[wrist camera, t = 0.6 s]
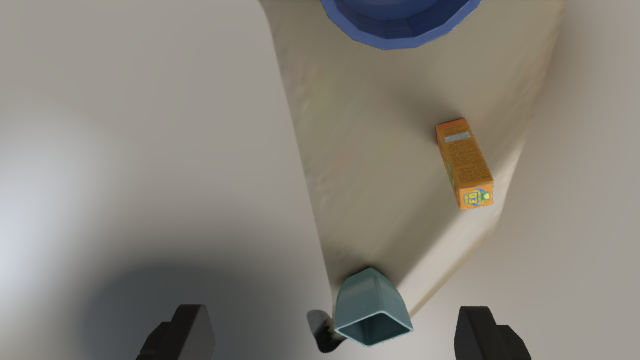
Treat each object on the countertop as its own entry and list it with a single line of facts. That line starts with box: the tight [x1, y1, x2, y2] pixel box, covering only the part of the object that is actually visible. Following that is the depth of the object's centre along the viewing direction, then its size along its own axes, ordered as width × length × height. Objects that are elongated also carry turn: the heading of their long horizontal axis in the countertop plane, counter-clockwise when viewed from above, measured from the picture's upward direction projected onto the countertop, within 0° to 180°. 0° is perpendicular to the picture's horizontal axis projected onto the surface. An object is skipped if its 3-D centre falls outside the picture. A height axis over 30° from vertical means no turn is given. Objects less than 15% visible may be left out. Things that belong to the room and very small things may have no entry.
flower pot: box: [334, 267, 414, 347], centre depth 58 cm, size 9×9×9 cm
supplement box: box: [436, 119, 494, 209], centre depth 38 cm, size 3×3×10 cm
